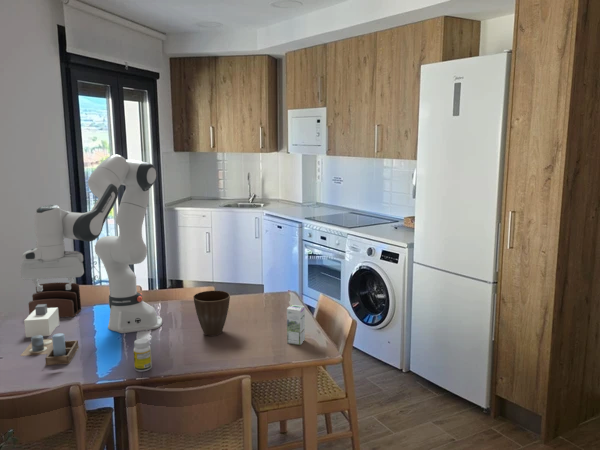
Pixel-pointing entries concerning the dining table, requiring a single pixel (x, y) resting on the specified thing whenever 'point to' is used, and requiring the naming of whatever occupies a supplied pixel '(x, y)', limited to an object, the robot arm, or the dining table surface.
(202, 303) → the plant pot
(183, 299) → the dining table surface
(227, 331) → the dining table surface
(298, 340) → the syrup box
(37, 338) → the board
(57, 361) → the divided wooden tray
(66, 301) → the letter holder
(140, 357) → the supplement bottle
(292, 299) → the dining table surface
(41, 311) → the cover
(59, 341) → the peg
